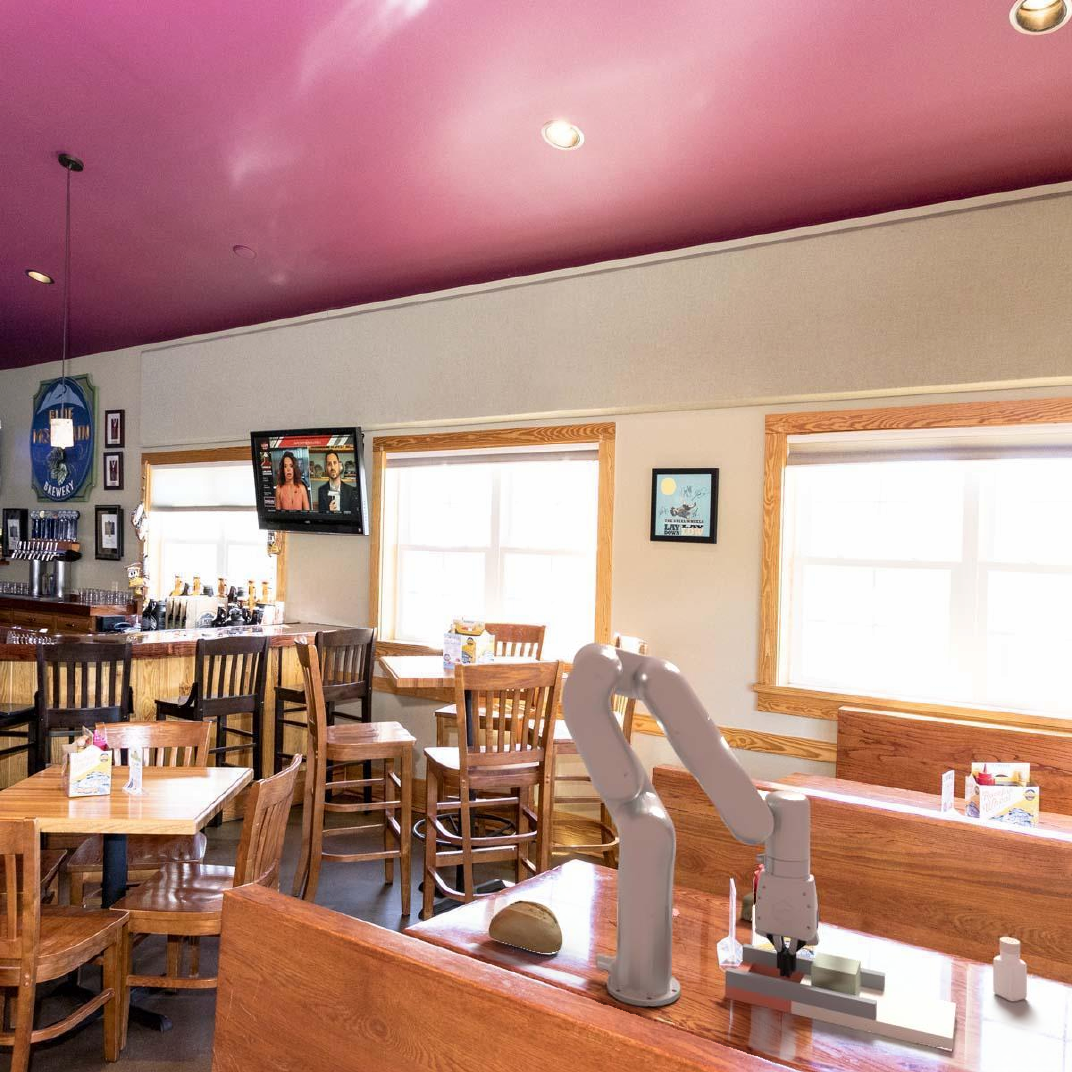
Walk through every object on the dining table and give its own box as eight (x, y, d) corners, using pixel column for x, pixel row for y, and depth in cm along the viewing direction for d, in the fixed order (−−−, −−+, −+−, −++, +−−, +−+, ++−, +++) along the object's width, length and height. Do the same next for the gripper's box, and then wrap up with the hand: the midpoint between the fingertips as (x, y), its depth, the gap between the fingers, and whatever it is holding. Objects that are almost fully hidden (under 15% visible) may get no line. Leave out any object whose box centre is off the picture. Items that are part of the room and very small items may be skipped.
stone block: (794, 933, 182) (794, 908, 182) (738, 921, 187) (738, 897, 188) (801, 924, 187) (801, 899, 187) (746, 913, 192) (747, 889, 193)
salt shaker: (1012, 1003, 153) (1012, 946, 153) (991, 993, 157) (991, 937, 157) (1028, 999, 155) (1028, 943, 155) (1007, 989, 158) (1007, 934, 159)
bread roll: (501, 931, 179) (502, 890, 179) (571, 945, 173) (572, 902, 173) (479, 949, 170) (480, 906, 170) (552, 964, 164) (553, 919, 165)
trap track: (725, 997, 153) (725, 970, 153) (744, 968, 164) (744, 943, 164) (952, 1051, 137) (952, 1021, 137) (955, 1015, 148) (956, 987, 148)
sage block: (811, 995, 150) (811, 965, 150) (817, 981, 155) (817, 952, 155) (855, 1006, 146) (855, 974, 147) (860, 991, 152) (860, 961, 152)
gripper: (738, 864, 155) (737, 973, 155) (828, 879, 149) (828, 993, 148) (749, 853, 162) (748, 957, 161) (835, 866, 155) (835, 975, 154)
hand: (786, 974), depth 155 cm, fingers closed
